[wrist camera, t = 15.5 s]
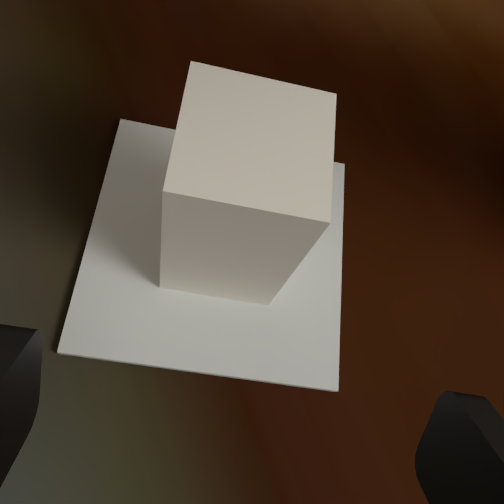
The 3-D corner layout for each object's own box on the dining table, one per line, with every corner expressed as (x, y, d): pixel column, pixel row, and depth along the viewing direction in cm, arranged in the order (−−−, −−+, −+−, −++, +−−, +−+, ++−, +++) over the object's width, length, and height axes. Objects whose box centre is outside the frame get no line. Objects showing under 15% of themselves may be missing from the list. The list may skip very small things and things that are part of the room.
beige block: (178, 192, 27) (190, 60, 18) (277, 211, 28) (336, 93, 19) (159, 287, 25) (162, 191, 16) (268, 305, 25) (330, 223, 16)
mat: (121, 123, 29) (120, 118, 28) (342, 167, 30) (344, 164, 30) (58, 354, 23) (56, 352, 23) (335, 391, 25) (338, 391, 24)
